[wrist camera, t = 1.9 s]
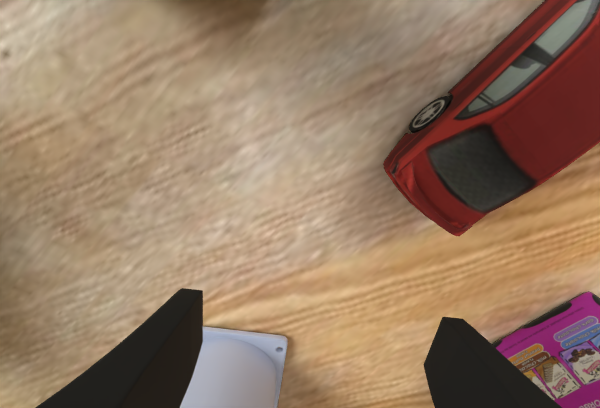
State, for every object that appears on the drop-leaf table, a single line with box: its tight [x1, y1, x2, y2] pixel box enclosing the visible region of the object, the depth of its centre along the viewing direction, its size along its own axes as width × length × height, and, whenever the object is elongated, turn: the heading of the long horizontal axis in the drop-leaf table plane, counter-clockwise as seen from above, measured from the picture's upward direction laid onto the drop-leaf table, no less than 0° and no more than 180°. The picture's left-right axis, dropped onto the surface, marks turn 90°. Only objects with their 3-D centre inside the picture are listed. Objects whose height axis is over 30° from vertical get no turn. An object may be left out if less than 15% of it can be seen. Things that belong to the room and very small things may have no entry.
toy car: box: [383, 0, 600, 236], centre depth 13 cm, size 6×15×5 cm, turn 133°
